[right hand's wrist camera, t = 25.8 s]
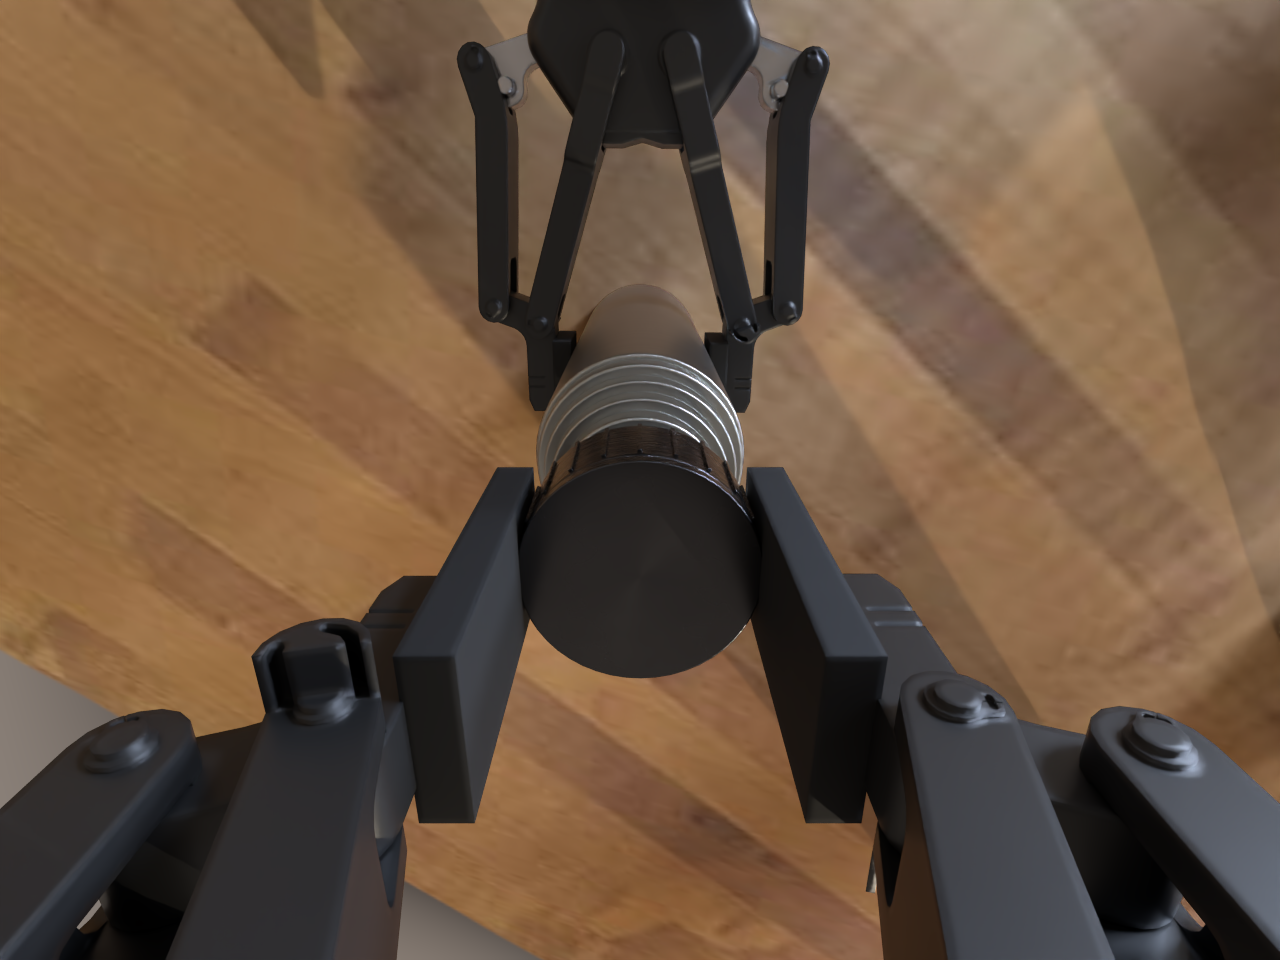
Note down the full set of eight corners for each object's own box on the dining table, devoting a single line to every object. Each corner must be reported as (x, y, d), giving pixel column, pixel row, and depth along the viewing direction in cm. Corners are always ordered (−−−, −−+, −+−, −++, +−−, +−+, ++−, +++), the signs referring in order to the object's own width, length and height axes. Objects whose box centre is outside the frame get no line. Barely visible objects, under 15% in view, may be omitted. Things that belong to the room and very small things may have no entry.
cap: (755, 421, 14) (774, 456, 12) (742, 619, 16) (758, 681, 14) (524, 422, 14) (504, 458, 12) (537, 619, 16) (522, 681, 14)
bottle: (711, 305, 35) (835, 470, 13) (673, 408, 37) (724, 707, 15) (603, 268, 34) (536, 375, 12) (571, 375, 36) (463, 637, 14)
